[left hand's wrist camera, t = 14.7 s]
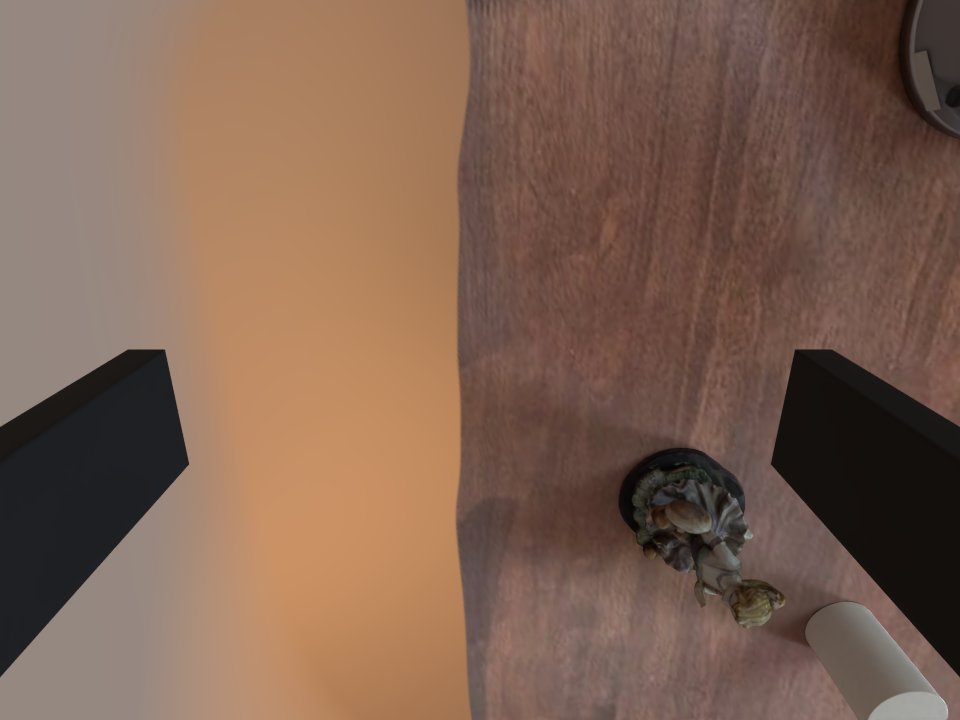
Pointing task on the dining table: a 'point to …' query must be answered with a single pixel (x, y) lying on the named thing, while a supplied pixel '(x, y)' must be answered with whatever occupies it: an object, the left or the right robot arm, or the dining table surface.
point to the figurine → (697, 528)
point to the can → (870, 666)
